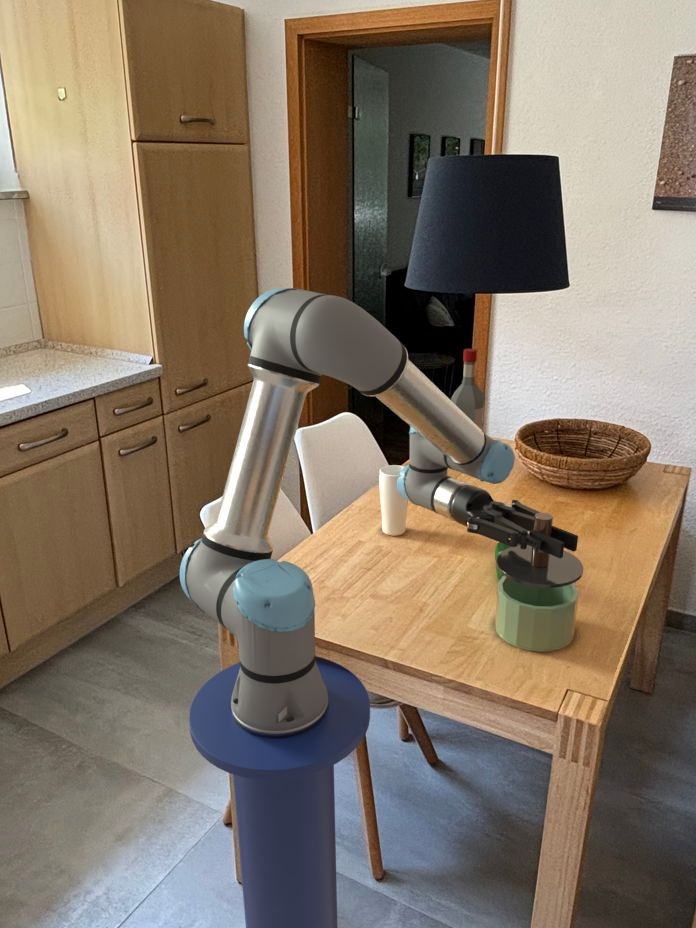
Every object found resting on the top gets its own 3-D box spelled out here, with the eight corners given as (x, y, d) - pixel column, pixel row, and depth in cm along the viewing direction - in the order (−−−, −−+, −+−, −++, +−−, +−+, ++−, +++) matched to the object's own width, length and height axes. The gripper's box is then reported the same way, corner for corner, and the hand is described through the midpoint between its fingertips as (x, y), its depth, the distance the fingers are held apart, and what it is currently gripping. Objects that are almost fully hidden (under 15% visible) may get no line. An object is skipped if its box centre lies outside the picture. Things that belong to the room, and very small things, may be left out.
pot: (485, 639, 135) (488, 597, 132) (507, 603, 146) (510, 563, 143) (563, 659, 129) (568, 616, 126) (580, 620, 141) (585, 579, 137)
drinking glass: (375, 536, 174) (375, 474, 168) (383, 523, 180) (383, 463, 174) (404, 539, 172) (405, 477, 166) (411, 527, 178) (412, 466, 172)
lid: (485, 579, 130) (488, 525, 127) (509, 544, 143) (513, 493, 139) (572, 598, 124) (578, 542, 121) (590, 560, 136) (596, 507, 133)
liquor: (482, 448, 228) (488, 347, 217) (479, 458, 220) (484, 354, 209) (452, 445, 230) (456, 345, 219) (447, 455, 222) (451, 352, 211)
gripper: (491, 510, 150) (595, 552, 133) (432, 534, 141) (536, 582, 124) (494, 474, 147) (600, 513, 130) (434, 496, 138) (540, 541, 121)
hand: (568, 547), depth 127 cm, fingers closed on lid, 3 cm apart
